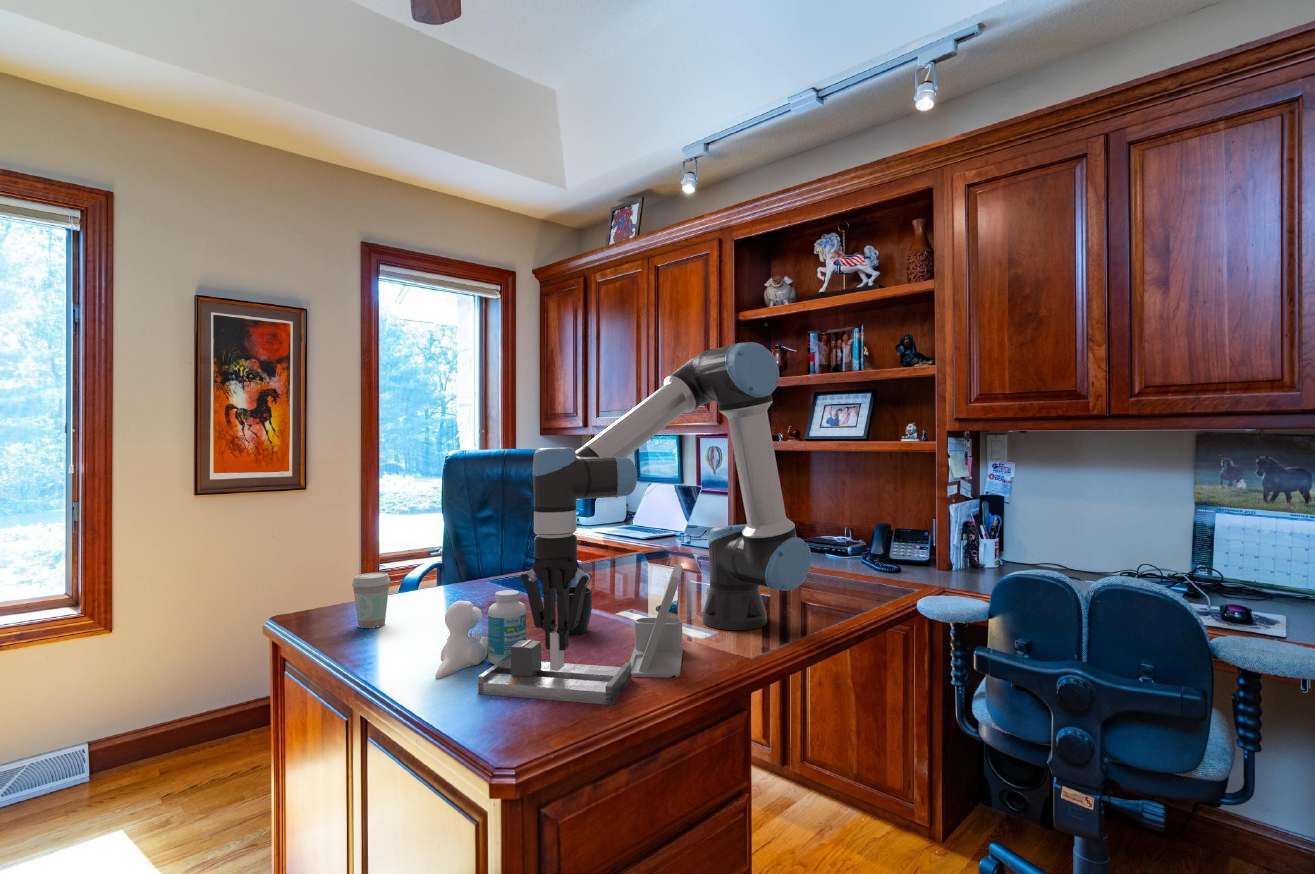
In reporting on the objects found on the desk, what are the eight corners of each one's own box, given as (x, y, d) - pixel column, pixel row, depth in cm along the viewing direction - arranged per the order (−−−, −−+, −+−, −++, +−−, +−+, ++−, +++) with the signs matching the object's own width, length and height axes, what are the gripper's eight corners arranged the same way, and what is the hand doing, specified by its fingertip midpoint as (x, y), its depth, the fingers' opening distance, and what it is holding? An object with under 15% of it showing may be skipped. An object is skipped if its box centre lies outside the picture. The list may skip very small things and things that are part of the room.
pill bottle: (507, 669, 123) (506, 598, 123) (480, 662, 127) (479, 593, 127) (534, 658, 129) (533, 590, 130) (507, 652, 133) (507, 586, 134)
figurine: (504, 650, 135) (503, 590, 135) (457, 680, 117) (456, 612, 118) (468, 647, 137) (467, 588, 137) (416, 677, 120) (415, 609, 120)
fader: (541, 673, 117) (541, 640, 117) (532, 681, 113) (531, 646, 113) (521, 672, 118) (520, 638, 118) (511, 679, 114) (510, 645, 114)
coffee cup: (347, 625, 155) (346, 575, 155) (383, 618, 161) (383, 570, 161) (358, 632, 149) (358, 580, 149) (396, 625, 155) (395, 575, 155)
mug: (600, 622, 154) (600, 583, 155) (587, 637, 143) (586, 594, 143) (567, 621, 156) (567, 582, 156) (551, 636, 144) (551, 593, 144)
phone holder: (635, 647, 136) (634, 561, 136) (684, 647, 135) (682, 561, 135) (625, 676, 118) (624, 578, 119) (680, 677, 118) (679, 578, 118)
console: (631, 678, 117) (631, 662, 117) (611, 704, 105) (611, 686, 105) (509, 669, 123) (509, 653, 123) (478, 693, 111) (478, 676, 111)
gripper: (597, 532, 117) (599, 663, 116) (530, 530, 120) (532, 658, 119) (582, 538, 109) (584, 677, 109) (512, 536, 112) (513, 672, 112)
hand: (557, 667), depth 114 cm, fingers closed
